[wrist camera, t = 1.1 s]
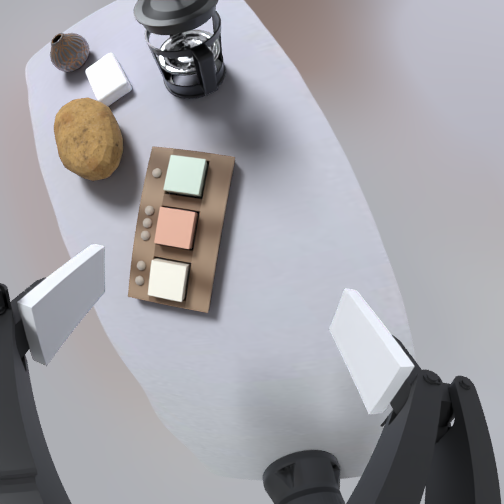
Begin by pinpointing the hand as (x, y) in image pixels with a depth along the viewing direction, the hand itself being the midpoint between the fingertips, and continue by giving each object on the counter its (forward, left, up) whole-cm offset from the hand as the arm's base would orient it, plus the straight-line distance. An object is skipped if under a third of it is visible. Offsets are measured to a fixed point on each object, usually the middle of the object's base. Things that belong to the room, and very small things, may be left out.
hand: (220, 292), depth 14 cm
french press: (+25, +10, -23) cm, 36 cm away
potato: (+12, +22, -23) cm, 34 cm away
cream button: (-4, +7, -22) cm, 23 cm away
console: (+2, +7, -23) cm, 24 cm away
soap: (+24, +25, -23) cm, 42 cm away
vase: (+29, +34, -23) cm, 51 cm away
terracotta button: (+2, +7, -22) cm, 23 cm away
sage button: (+9, +7, -22) cm, 25 cm away
